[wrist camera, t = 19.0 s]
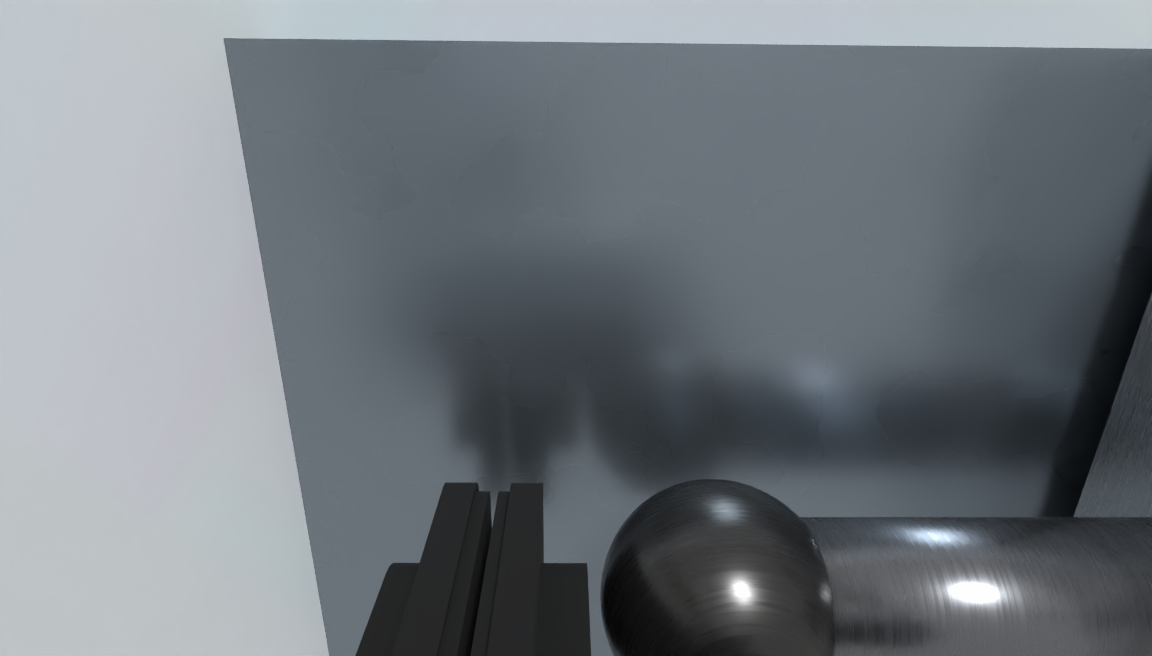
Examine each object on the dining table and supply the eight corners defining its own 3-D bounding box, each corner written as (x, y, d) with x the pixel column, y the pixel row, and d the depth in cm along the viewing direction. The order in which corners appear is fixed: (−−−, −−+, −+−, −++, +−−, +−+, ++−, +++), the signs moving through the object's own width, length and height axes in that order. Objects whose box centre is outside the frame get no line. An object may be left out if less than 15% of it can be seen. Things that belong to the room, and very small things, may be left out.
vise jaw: (587, 788, 15) (596, 1089, 10) (605, 41, 9) (640, 1, 5) (1104, 783, 15) (1330, 1078, 11) (1436, 50, 9) (2223, 21, 5)
